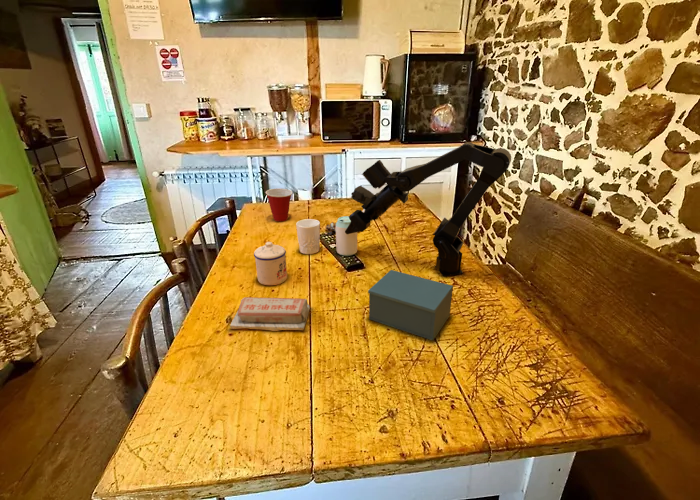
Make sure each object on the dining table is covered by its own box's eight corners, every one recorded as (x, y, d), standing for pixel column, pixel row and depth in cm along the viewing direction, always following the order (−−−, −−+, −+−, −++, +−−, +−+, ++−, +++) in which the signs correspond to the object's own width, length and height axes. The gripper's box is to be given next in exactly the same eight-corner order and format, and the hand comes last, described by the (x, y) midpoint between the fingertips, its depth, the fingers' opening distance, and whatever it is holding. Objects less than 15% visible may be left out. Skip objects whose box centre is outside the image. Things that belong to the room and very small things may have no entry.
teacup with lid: (283, 286, 113) (280, 249, 108) (252, 285, 114) (248, 248, 109) (293, 267, 124) (290, 233, 119) (265, 266, 125) (261, 232, 120)
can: (350, 258, 129) (349, 224, 124) (332, 254, 133) (331, 220, 128) (361, 250, 135) (361, 217, 130) (343, 246, 138) (343, 214, 133)
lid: (434, 313, 86) (434, 310, 86) (368, 293, 94) (368, 290, 94) (452, 288, 95) (453, 285, 95) (390, 272, 103) (390, 269, 103)
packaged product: (309, 292, 100) (303, 314, 91) (310, 308, 102) (304, 332, 93) (240, 291, 101) (226, 313, 92) (242, 307, 103) (229, 330, 94)
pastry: (356, 235, 147) (356, 226, 146) (324, 235, 148) (324, 226, 146) (356, 228, 154) (356, 219, 152) (326, 228, 154) (325, 219, 153)
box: (432, 340, 90) (435, 311, 86) (369, 319, 98) (369, 292, 94) (449, 315, 99) (452, 288, 95) (390, 298, 107) (390, 272, 103)
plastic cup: (292, 223, 159) (290, 195, 154) (265, 223, 159) (262, 195, 154) (296, 214, 169) (294, 187, 164) (271, 214, 169) (268, 187, 164)
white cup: (293, 253, 134) (291, 225, 129) (304, 244, 140) (303, 217, 136) (314, 256, 131) (313, 228, 127) (324, 247, 138) (323, 220, 133)
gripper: (378, 172, 128) (347, 201, 137) (355, 187, 112) (322, 218, 121) (400, 198, 128) (368, 225, 137) (380, 217, 113) (345, 246, 121)
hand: (351, 228), depth 129 cm, fingers open, 9 cm apart
